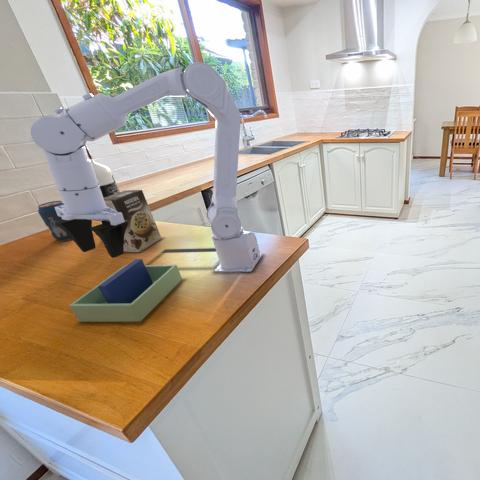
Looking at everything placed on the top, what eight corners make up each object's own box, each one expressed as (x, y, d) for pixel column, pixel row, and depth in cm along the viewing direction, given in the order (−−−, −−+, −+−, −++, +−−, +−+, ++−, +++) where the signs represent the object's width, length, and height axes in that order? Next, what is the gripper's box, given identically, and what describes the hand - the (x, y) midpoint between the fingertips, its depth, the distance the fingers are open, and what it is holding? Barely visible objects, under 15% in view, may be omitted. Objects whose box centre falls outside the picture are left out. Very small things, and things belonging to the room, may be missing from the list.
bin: (183, 280, 69) (176, 264, 67) (141, 323, 57) (131, 305, 55) (132, 281, 70) (124, 265, 68) (80, 323, 58) (68, 305, 56)
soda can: (79, 231, 102) (60, 198, 96) (85, 235, 98) (66, 201, 92) (53, 239, 97) (32, 205, 91) (58, 244, 93) (37, 209, 87)
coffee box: (139, 252, 84) (114, 200, 76) (121, 252, 85) (95, 200, 77) (163, 238, 91) (142, 189, 84) (146, 237, 93) (124, 189, 85)
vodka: (108, 232, 99) (61, 141, 85) (139, 224, 103) (100, 136, 89) (104, 242, 92) (53, 144, 78) (138, 233, 96) (95, 139, 82)
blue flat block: (153, 284, 68) (141, 258, 64) (121, 313, 59) (105, 286, 56) (147, 284, 68) (135, 259, 65) (113, 313, 59) (97, 286, 56)
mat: (231, 249, 82) (231, 247, 82) (214, 268, 73) (213, 267, 73) (165, 250, 84) (164, 249, 84) (141, 270, 75) (140, 268, 75)
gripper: (24, 188, 52) (54, 256, 57) (85, 196, 48) (110, 267, 54) (69, 180, 58) (92, 241, 63) (125, 187, 54) (144, 251, 60)
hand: (103, 252), depth 59 cm, fingers open, 7 cm apart
